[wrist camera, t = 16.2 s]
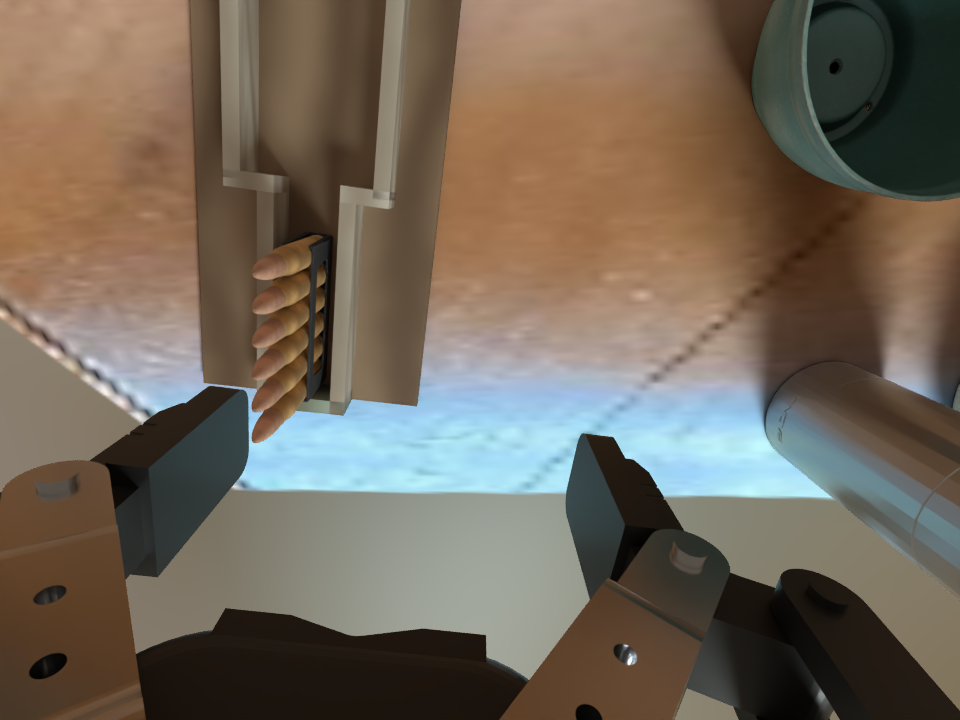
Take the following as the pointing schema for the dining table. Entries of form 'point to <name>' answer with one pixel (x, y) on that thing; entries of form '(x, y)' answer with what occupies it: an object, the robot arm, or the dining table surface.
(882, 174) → the flower pot
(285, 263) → the ammunition clip
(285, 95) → the shallow open tray
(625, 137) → the dining table surface
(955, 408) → the kettle
